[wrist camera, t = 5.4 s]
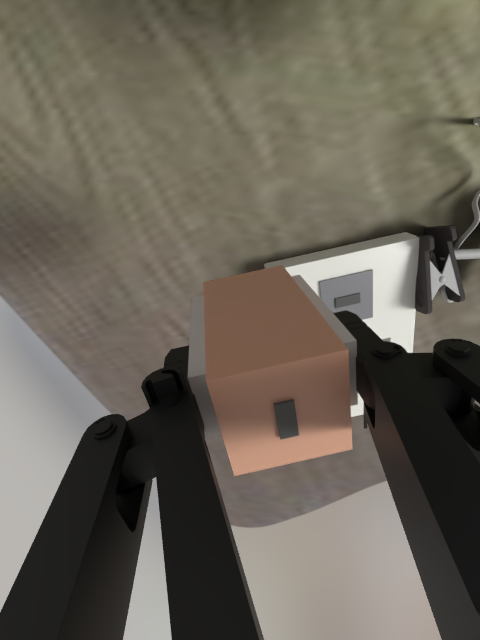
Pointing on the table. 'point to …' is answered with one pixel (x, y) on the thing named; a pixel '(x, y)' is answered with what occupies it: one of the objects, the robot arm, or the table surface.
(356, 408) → the outlet plate
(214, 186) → the table surface
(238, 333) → the block
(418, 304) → the clip-on lamp
